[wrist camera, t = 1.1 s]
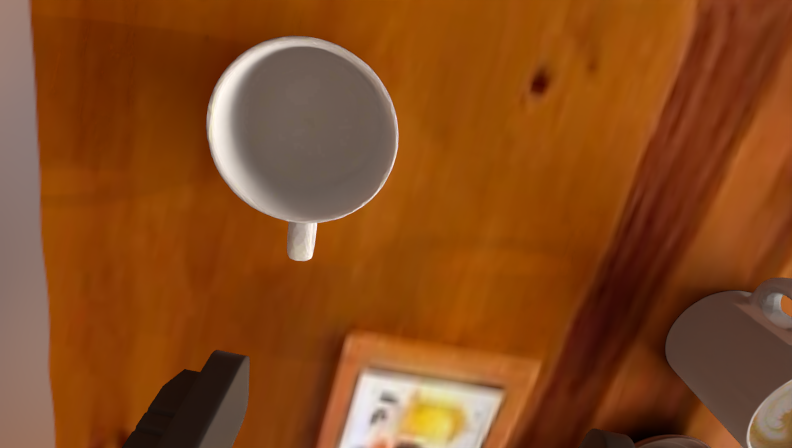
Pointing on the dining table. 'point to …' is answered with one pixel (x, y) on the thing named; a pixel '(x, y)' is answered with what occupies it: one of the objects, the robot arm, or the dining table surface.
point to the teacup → (302, 133)
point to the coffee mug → (740, 361)
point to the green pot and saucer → (671, 442)
